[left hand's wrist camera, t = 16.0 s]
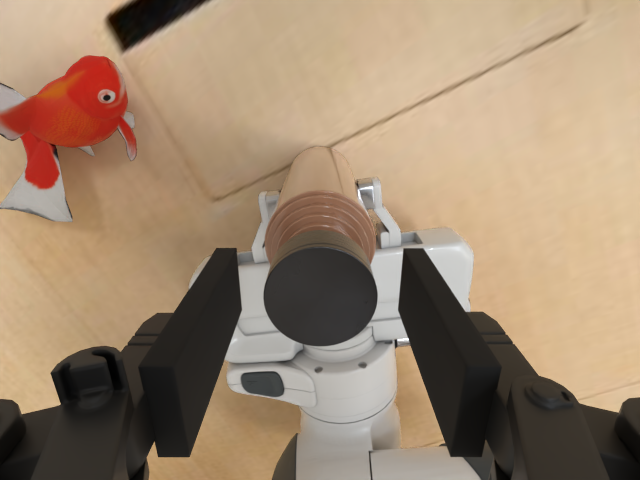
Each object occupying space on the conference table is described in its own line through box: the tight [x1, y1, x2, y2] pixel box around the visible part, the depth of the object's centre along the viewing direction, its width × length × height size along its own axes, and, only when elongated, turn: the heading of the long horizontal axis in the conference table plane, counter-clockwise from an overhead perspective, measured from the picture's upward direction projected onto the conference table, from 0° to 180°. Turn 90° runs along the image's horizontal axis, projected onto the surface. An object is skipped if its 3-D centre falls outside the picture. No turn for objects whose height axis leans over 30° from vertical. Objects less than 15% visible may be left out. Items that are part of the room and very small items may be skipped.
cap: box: [263, 230, 378, 347], centre depth 14 cm, size 4×4×2 cm
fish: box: [0, 55, 137, 222], centre depth 27 cm, size 11×16×10 cm
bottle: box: [265, 146, 376, 265], centre depth 23 cm, size 5×5×19 cm
